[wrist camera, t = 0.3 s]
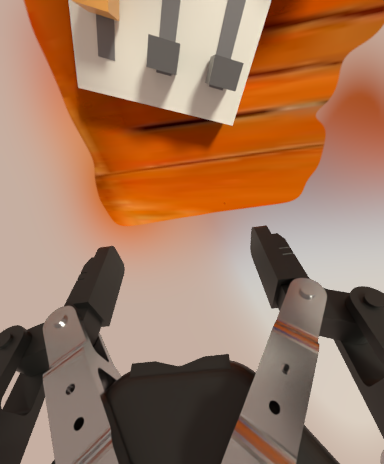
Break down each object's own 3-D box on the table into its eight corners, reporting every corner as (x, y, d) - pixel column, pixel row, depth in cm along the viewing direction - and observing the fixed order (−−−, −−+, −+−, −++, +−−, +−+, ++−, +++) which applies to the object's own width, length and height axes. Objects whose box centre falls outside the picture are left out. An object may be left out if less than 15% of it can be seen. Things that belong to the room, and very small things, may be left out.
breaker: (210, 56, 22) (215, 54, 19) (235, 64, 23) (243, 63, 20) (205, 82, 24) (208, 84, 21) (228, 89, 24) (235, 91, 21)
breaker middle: (153, 39, 21) (148, 34, 18) (180, 47, 22) (180, 43, 19) (151, 67, 23) (146, 66, 20) (176, 74, 23) (176, 75, 20)
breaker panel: (76, -126, 18) (47, -181, 14) (272, -44, 22) (293, -70, 18) (92, 85, 28) (77, 87, 24) (226, 119, 31) (232, 125, 27)
